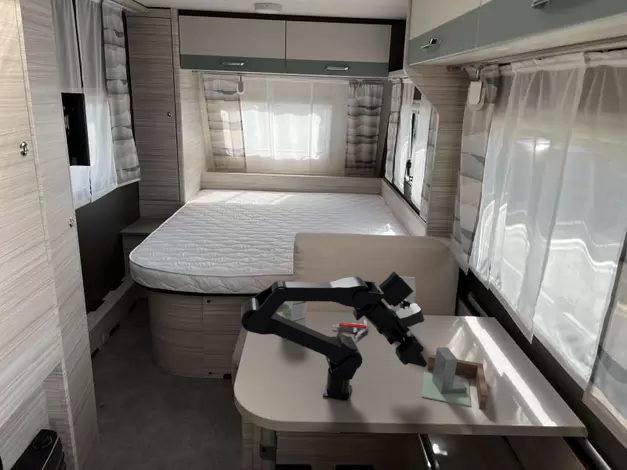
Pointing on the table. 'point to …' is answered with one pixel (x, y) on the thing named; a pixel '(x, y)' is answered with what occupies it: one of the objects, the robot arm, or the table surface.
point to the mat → (433, 393)
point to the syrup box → (295, 311)
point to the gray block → (447, 373)
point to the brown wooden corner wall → (469, 371)
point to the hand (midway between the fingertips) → (419, 355)
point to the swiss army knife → (353, 327)
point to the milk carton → (410, 298)
